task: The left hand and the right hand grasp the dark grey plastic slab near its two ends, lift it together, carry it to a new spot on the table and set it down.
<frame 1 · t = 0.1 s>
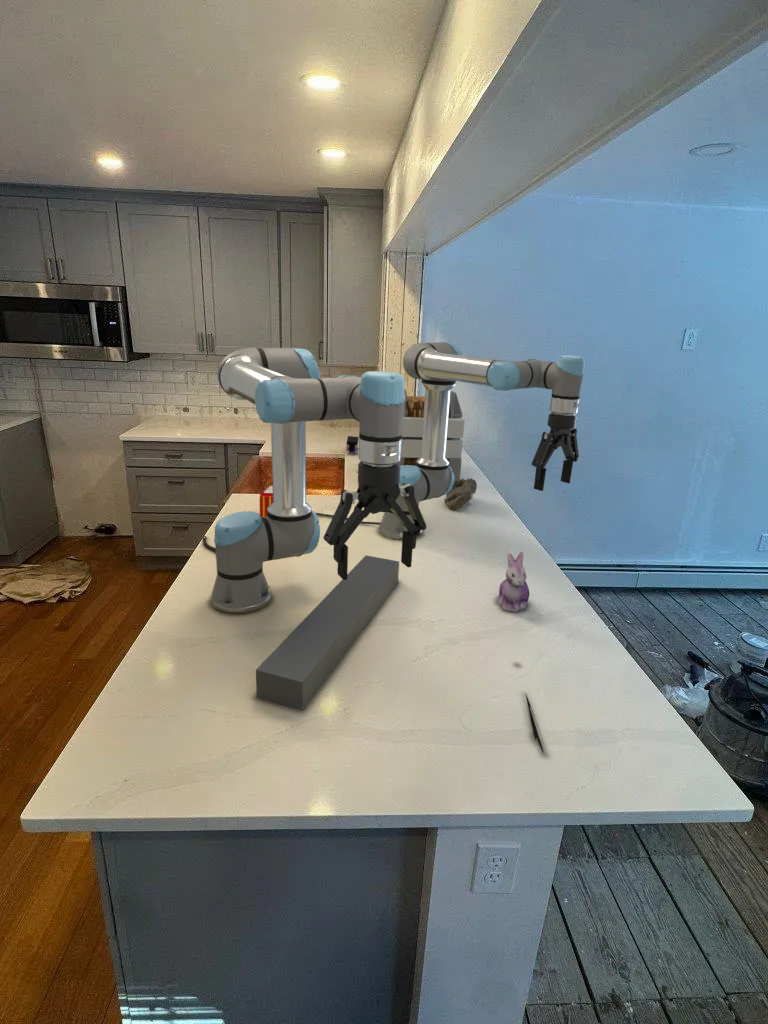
left hand: (375, 570, 108), 28 cm above the counter, tool pointing down, fingers open, 13 cm apart
right hand: (552, 485, 166), 28 cm above the counter, tool pointing down, fingers open, 13 cm apart
feather: (527, 705, 115), on the counter
slab: (340, 629, 139), on the counter
toy: (279, 518, 209), on the counter
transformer: (419, 473, 275), on the counter
figurine character: (352, 452, 309), on the counter
fossil: (459, 503, 235), on the counter
figurine: (513, 604, 155), on the counter
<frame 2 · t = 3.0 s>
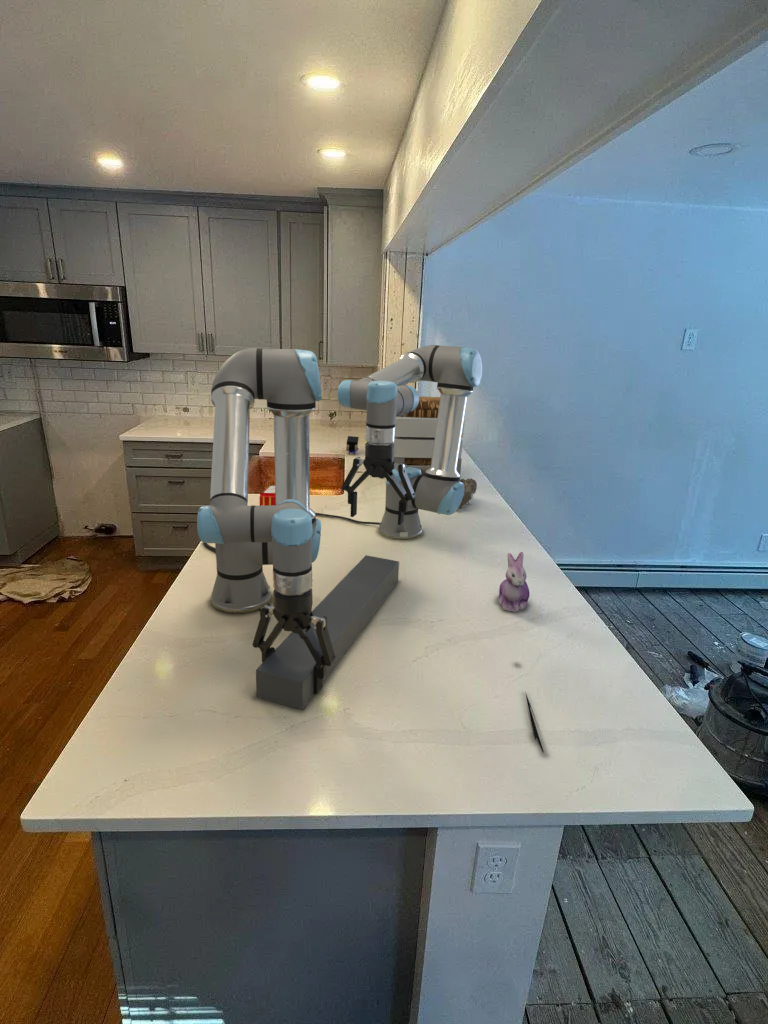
left hand: (294, 683, 118), 1 cm above the counter, tool pointing down, fingers closed on slab, 10 cm apart
right hand: (376, 519, 154), 21 cm above the counter, tool pointing down, fingers open, 13 cm apart
slab: (340, 629, 139), on the counter, touching left hand
everything else where it was.
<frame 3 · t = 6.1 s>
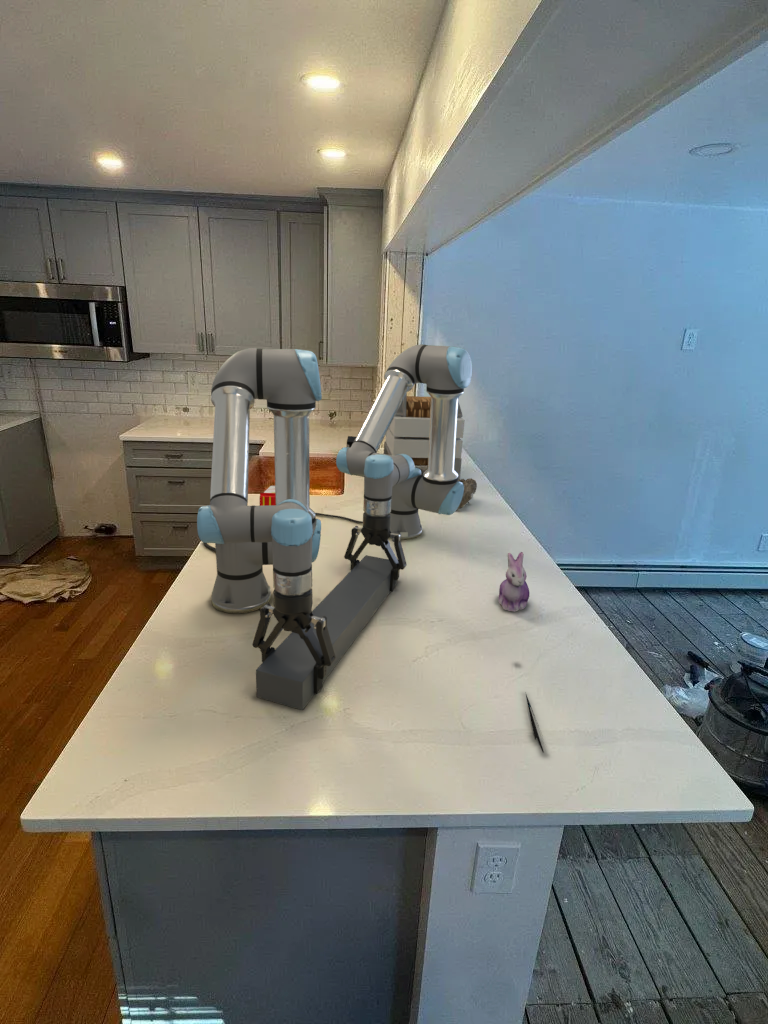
left hand: (294, 683, 118), 1 cm above the counter, tool pointing down, fingers closed on slab, 10 cm apart
right hand: (374, 585, 161), 1 cm above the counter, tool pointing down, fingers closed on slab, 10 cm apart
slab: (340, 628, 139), on the counter, touching right hand, left hand
everything else where it was.
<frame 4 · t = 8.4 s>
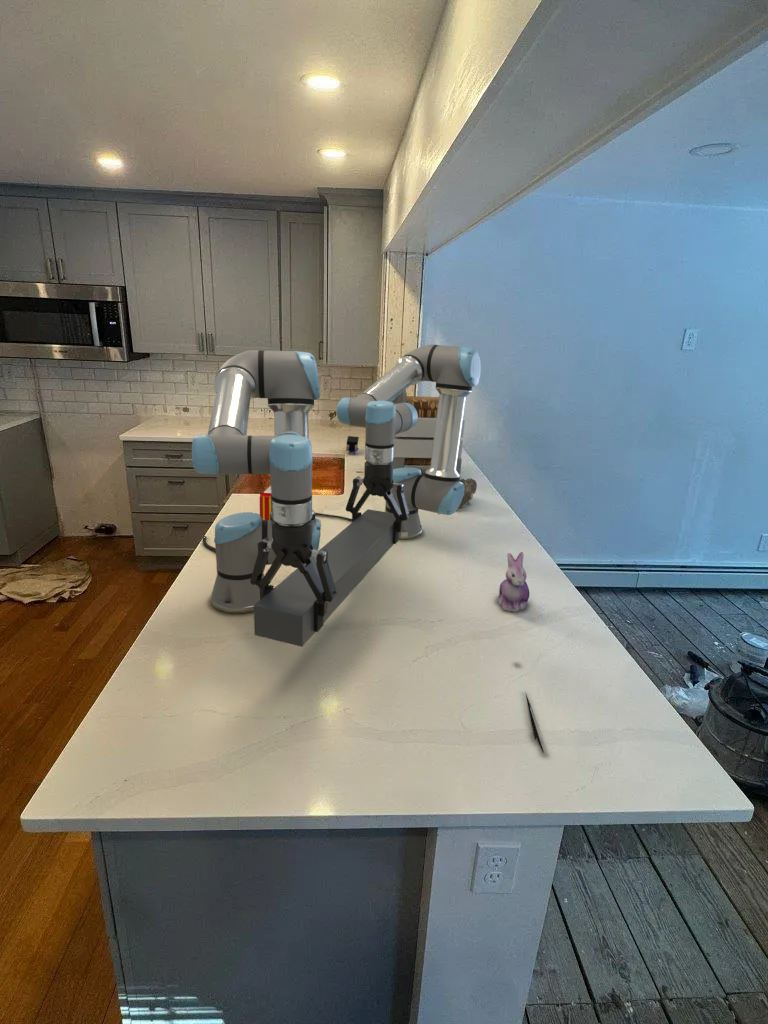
left hand: (293, 622, 114), 15 cm above the counter, tool pointing down, fingers closed on slab, 10 cm apart
right hand: (376, 539, 156), 15 cm above the counter, tool pointing down, fingers closed on slab, 10 cm apart
slab: (341, 576, 135), point 14 cm above the counter, touching right hand, left hand
everything else where it was.
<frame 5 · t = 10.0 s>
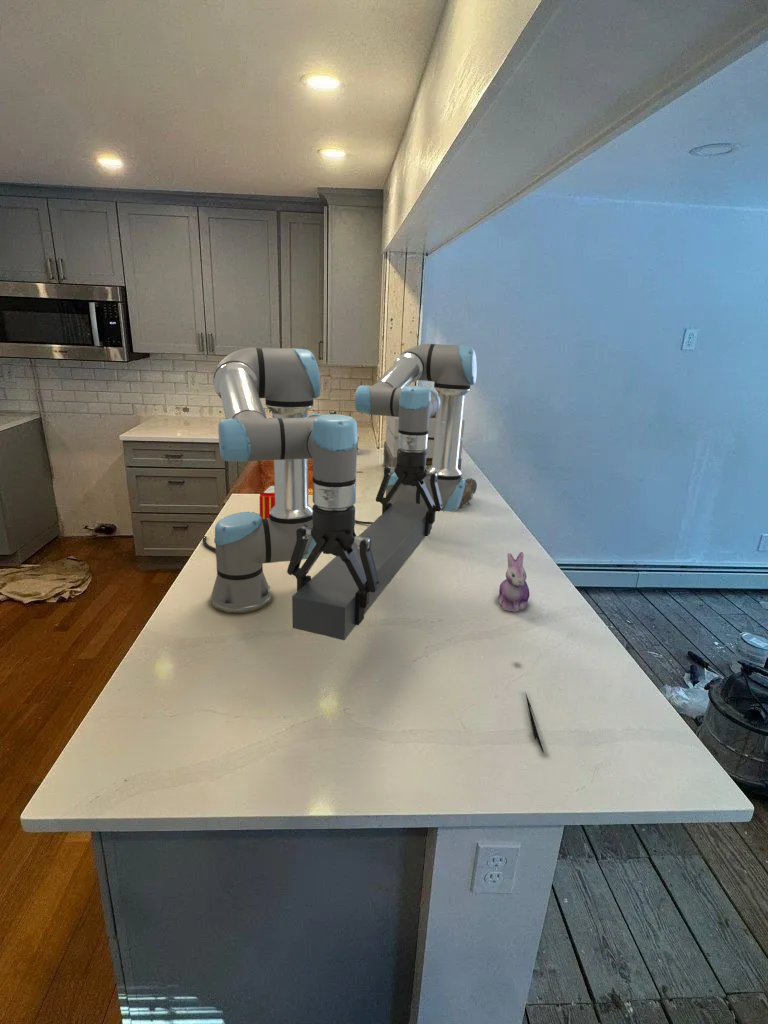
left hand: (332, 615, 107), 20 cm above the counter, tool pointing down, fingers closed on slab, 10 cm apart
right hand: (407, 531, 150), 19 cm above the counter, tool pointing down, fingers closed on slab, 10 cm apart
slab: (375, 568, 129), point 19 cm above the counter, touching right hand, left hand
everything else where it was.
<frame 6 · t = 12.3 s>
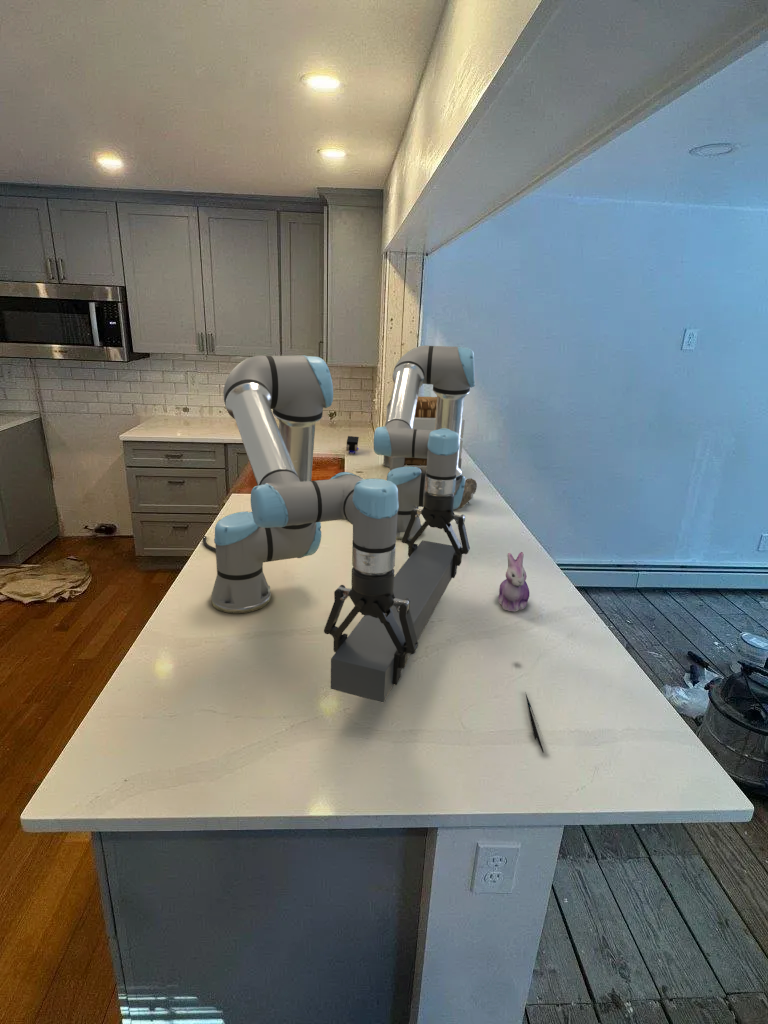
left hand: (368, 673, 107), 10 cm above the counter, tool pointing down, fingers closed on slab, 10 cm apart
right hand: (433, 571, 150), 10 cm above the counter, tool pointing down, fingers closed on slab, 10 cm apart
slab: (406, 616, 129), point 9 cm above the counter, touching right hand, left hand
everything else where it was.
when the left hand's fingers open (2 cm above the counter, at t = 14.1 s): slab drops 1 cm, on the counter.
when the right hand's fingers open (2 cm above the counter, at t = 14.1 s): slab drops 1 cm, on the counter.
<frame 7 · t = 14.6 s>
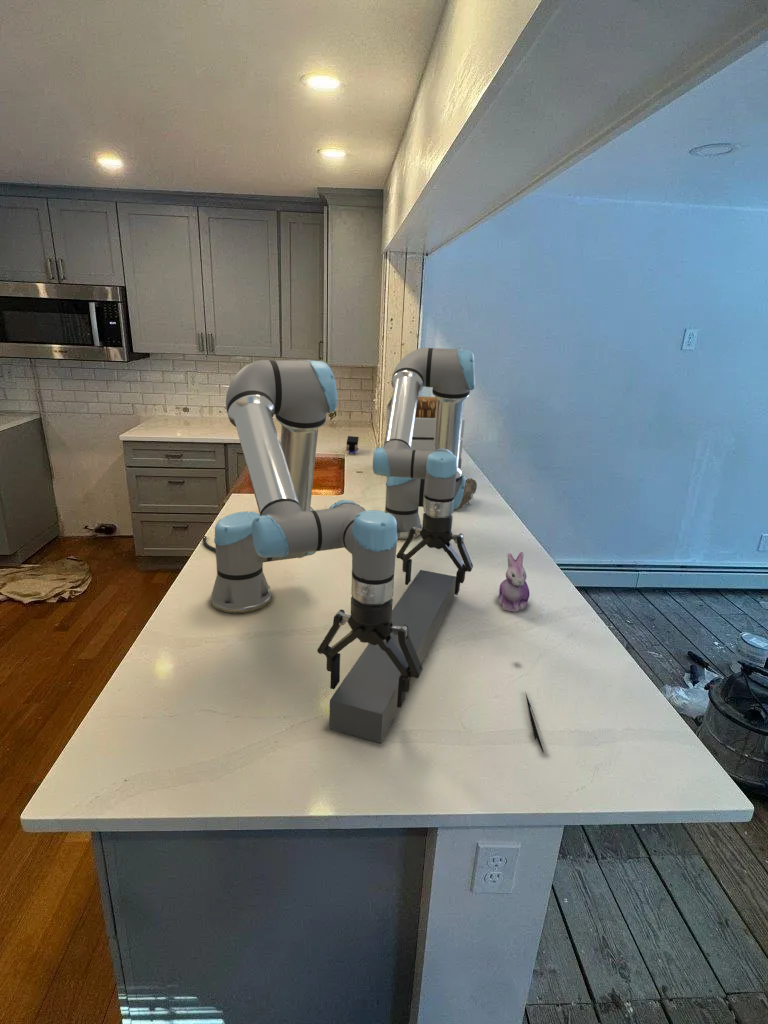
left hand: (367, 694, 109), 5 cm above the counter, tool pointing down, fingers open, 13 cm apart
right hand: (432, 587, 152), 5 cm above the counter, tool pointing down, fingers open, 13 cm apart
slab: (403, 650, 132), on the counter
everything else where it was.
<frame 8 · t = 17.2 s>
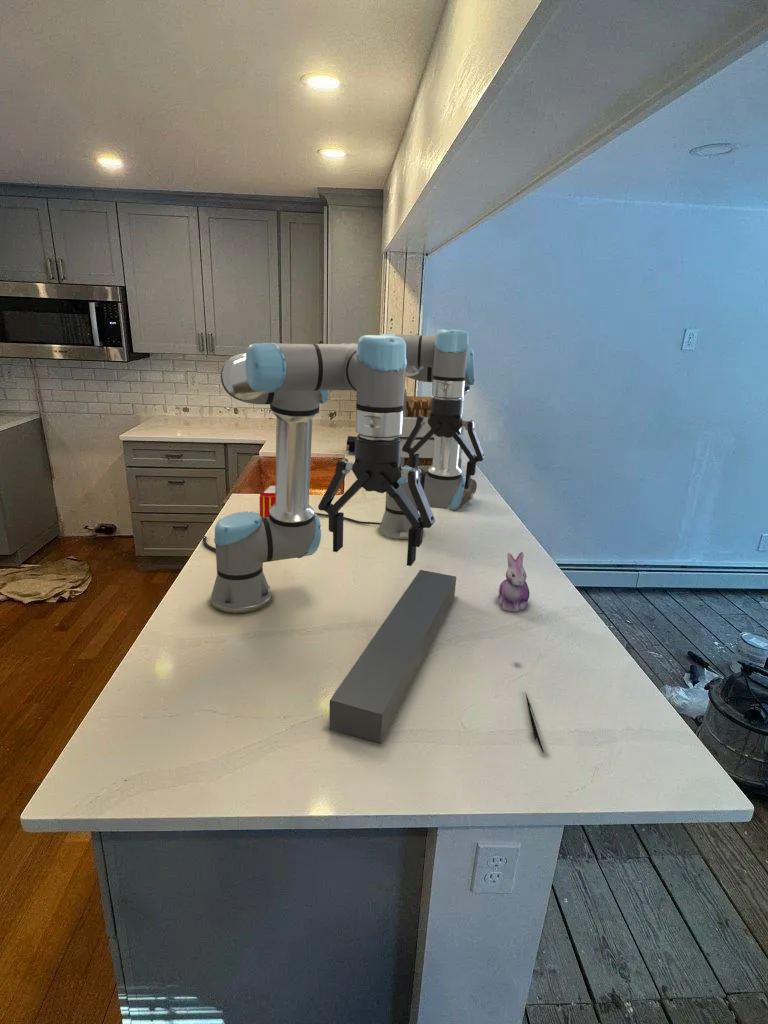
left hand: (373, 556, 99), 34 cm above the counter, tool pointing down, fingers open, 13 cm apart
right hand: (440, 483, 141), 34 cm above the counter, tool pointing down, fingers open, 13 cm apart
nothing on the counter moved.
at the end: slab inside the target area (0.3 cm from its centre), on the counter; slab tilted 0°; slab never tilted more than 1° during the clip; both hands held the slab at the same time; the left hand is holding nothing; the right hand is holding nothing; slab at rest at the end (0.0 cm/s) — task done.
